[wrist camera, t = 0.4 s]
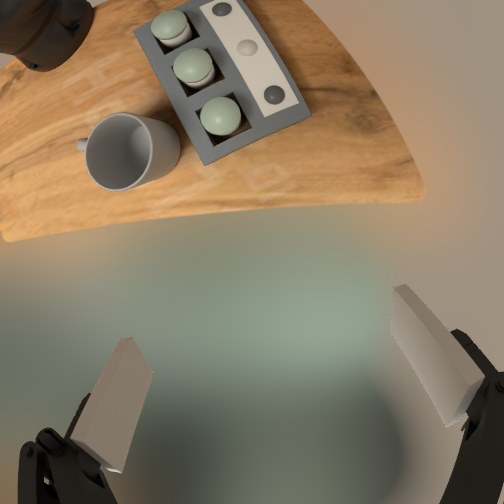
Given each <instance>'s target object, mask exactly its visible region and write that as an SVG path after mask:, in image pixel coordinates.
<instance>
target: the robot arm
mask: <svg viewBox="0 0 504 504" xmlns="http://www.w3.org/2000/svg"><path fill="white" fill-rule="evenodd" d="M92 19H93V8H92V6H91V4H90V3H89V2H87V1H86V0H0V53H4V54H9V55H14V56H15V57H16V58H17V59H19V60H20V61H21V62H22V63H23V64H24V65H25V66H26V67H27V68H29V69H31V70H34V71H39V72H46V71H50V70H52V69H54V68H56V67H58V66H59V65H61V64H62V63H63V62H65V61H66V60H67V59H68V58H69V57H70V56H71V55H72V54H73V53H74V52H75V51H76V50H77V48H78V47H79V46H80V44H81V43H82V41H83V40H84V38H85V37H86V35H87V33H88V31H89V29H90V26H91V23H92ZM390 332H391V334H392V336H393V337H394V339H395V340H396V342H397V344H398V345H399V347H400V348H401V350H402V352H403V353H404V355H405V356H406V358H407V360H408V361H409V363H410V365H411V366H412V368H413V370H414V371H415V373H416V375H417V376H418V378H419V380H420V381H421V383H422V385H423V387H424V388H425V390H426V392H427V394H428V395H429V397H430V399H431V400H432V403H433V404H434V406H435V408H436V410H437V412H438V414H439V415H440V417H441V419H442V421H443V423H444V425H445V427H446V428H447V427H448V426H451V425H452V424H454V423H456V422H458V421H460V420H461V419H462V417H463V415H464V414H465V412H466V413H467V414H468V416H469V418H468V419H467V421H466V422H465V424H464V425H463V427H462V429H461V431H463V430H464V429H465V431H464V435H463V439H462V443H461V446H460V450H459V453H458V456H457V460H456V462H455V465H454V468H453V471H452V474H451V477H450V479H449V482H448V484H447V487H446V489H445V492H444V495H443V496H442V499H441V501H440V503H439V504H497V502H498V499H499V496H500V493H501V490H502V486H503V483H504V372H498V371H497V370H496V369H495V367H494V366H493V365H492V364H491V362H490V361H489V360H488V359H487V357H486V356H485V355H484V354H483V353H482V351H481V350H480V349H478V347H477V345H476V344H474V343H473V341H472V340H471V339H470V337H469V336H468V335H467V334H466V333H464V332H462V331H460V330H458V329H456V330H453V331H451V332H449V331H448V329H447V328H446V327H445V326H444V325H443V324H442V322H441V321H440V320H439V319H438V318H437V317H436V316H435V315H434V314H433V312H432V311H431V310H430V309H429V308H428V307H427V306H426V305H425V304H424V302H422V300H421V299H420V298H419V297H418V296H417V295H416V294H415V293H414V292H413V291H412V290H411V289H410V288H409V287H408V286H407V285H406V284H404V285H401V286H397V287H394V288H393V296H392V312H391V324H390ZM153 374H154V373H153V372H152V370H151V369H150V367H149V365H148V363H147V362H146V360H145V358H144V357H143V355H142V353H141V352H140V350H139V348H138V346H137V344H136V343H135V341H134V339H133V338H132V337H131V338H121V339H120V341H119V343H118V345H117V346H116V348H115V350H114V352H113V353H112V355H111V357H110V359H109V361H108V363H107V364H106V366H105V368H104V370H103V372H102V374H101V376H100V378H99V380H98V381H97V383H96V385H95V387H94V389H93V391H92V393H89V394H88V395H87V396H86V397H85V398H84V399H83V400H82V402H81V404H80V406H79V410H77V412H76V414H75V415H76V416H74V418H73V420H72V422H71V424H70V426H69V428H68V430H67V433H66V435H65V437H64V439H63V438H62V437H61V436H60V435H59V434H58V433H57V432H56V431H55V430H53V429H52V428H45V429H43V430H41V431H40V432H39V433H38V435H37V437H36V442H35V443H34V442H32V441H29V442H26V443H25V444H24V445H23V446H22V448H21V451H20V458H19V471H18V504H118V503H117V501H116V499H115V497H114V495H113V493H112V491H111V489H110V487H109V485H108V483H107V480H106V478H105V476H104V473H103V472H102V471H101V470H100V466H101V465H102V466H104V467H105V468H106V469H108V470H110V471H114V472H119V473H122V471H123V467H124V464H125V461H126V457H127V454H128V451H129V447H130V444H131V441H132V438H133V434H134V431H135V428H136V425H137V422H138V419H139V416H140V413H141V410H142V407H143V404H144V401H145V398H146V395H147V392H148V389H149V386H150V383H151V380H152V377H153ZM44 477H45V478H46V479H48V480H49V485H48V484H46V483H45V482H44Z"/></svg>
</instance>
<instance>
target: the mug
mask: <svg viewBox="0 0 504 504" xmlns="http://www.w3.org/2000/svg"><path fill="white" fill-rule="evenodd" d="M76 147H77V149H78V150H79V151H84V152H85V163H86V167H87V170H88V173H89V175H90V176H91V178H92V179H93V180H94V182H95V183H96V184H97V185H99V186H100V187H102V188H104V189H106V190H109V191H114V192H119V191H125V190H128V189H131V188H134V187H137V186H139V185H142V184H145V183H147V182H150V181H153V180H157V179H160V178H162V177H164V176H165V175H167V174H168V173H169V172H170V171H171V170H172V169H173V168H174V167H175V165H176V163H177V161H178V159H179V156H180V148H181V147H180V140H179V137H178V135H177V133H176V131H175V130H174V129H173V128H172V127H171V126H170V125H169V124H167V123H165V122H163V121H160V120H156V119H151V118H148V117H144V116H140V115H136V114H132V113H124V112H121V113H115V114H112V115H109V116H107V117H105V118H104V119H102V120H101V121H100V122H99V123H98V124H97V125H96V126H95V127H94V128H93V130H92V131H91V133H90V135H89V137H88V138H82V139H79V140H78V142H77V144H76Z"/></svg>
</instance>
